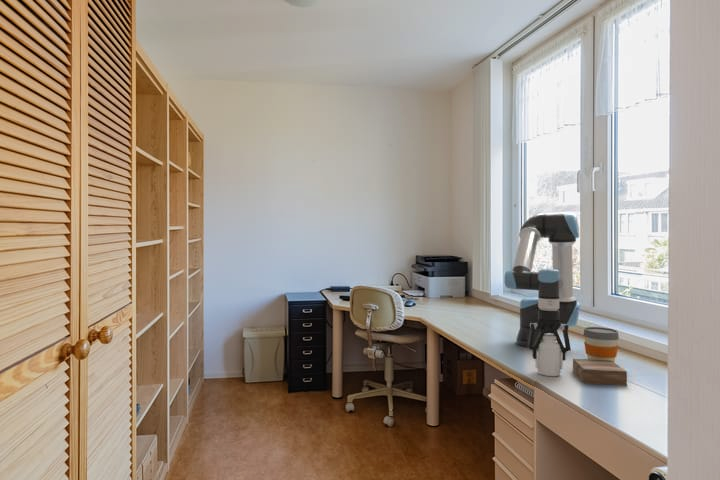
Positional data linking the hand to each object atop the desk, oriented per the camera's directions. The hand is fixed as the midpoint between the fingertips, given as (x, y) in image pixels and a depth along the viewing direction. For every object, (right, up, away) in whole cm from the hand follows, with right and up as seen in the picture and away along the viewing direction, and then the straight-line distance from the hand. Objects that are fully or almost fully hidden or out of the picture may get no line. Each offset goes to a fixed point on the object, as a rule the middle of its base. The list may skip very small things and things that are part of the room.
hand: (548, 367), depth 165 cm
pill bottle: (0, -2, 0) cm, 2 cm away
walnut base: (+16, -2, -5) cm, 17 cm away
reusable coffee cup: (+25, -2, +9) cm, 27 cm away
